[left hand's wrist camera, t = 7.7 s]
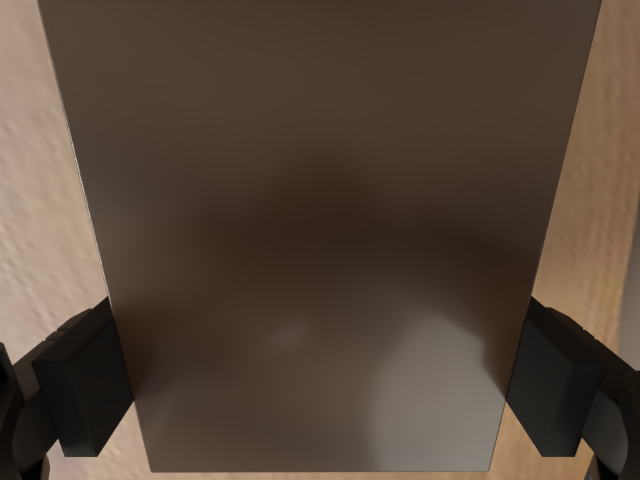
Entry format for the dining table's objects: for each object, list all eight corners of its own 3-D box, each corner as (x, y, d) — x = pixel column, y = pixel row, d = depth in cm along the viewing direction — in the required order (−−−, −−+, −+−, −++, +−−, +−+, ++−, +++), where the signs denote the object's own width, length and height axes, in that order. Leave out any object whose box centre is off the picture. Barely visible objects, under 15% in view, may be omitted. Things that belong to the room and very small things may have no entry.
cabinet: (186, -63, 13) (-63, -397, 5) (452, -63, 13) (699, -395, 5) (226, 311, 19) (149, 473, 10) (412, 311, 19) (489, 473, 10)
